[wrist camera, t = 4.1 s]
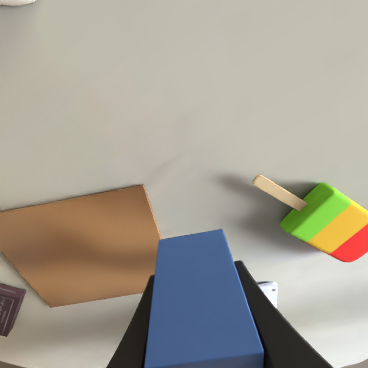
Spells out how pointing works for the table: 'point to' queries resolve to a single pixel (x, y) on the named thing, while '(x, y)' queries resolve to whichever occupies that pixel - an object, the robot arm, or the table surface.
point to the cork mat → (83, 245)
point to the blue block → (200, 308)
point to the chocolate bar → (9, 307)
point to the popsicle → (323, 220)
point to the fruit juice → (16, 2)
